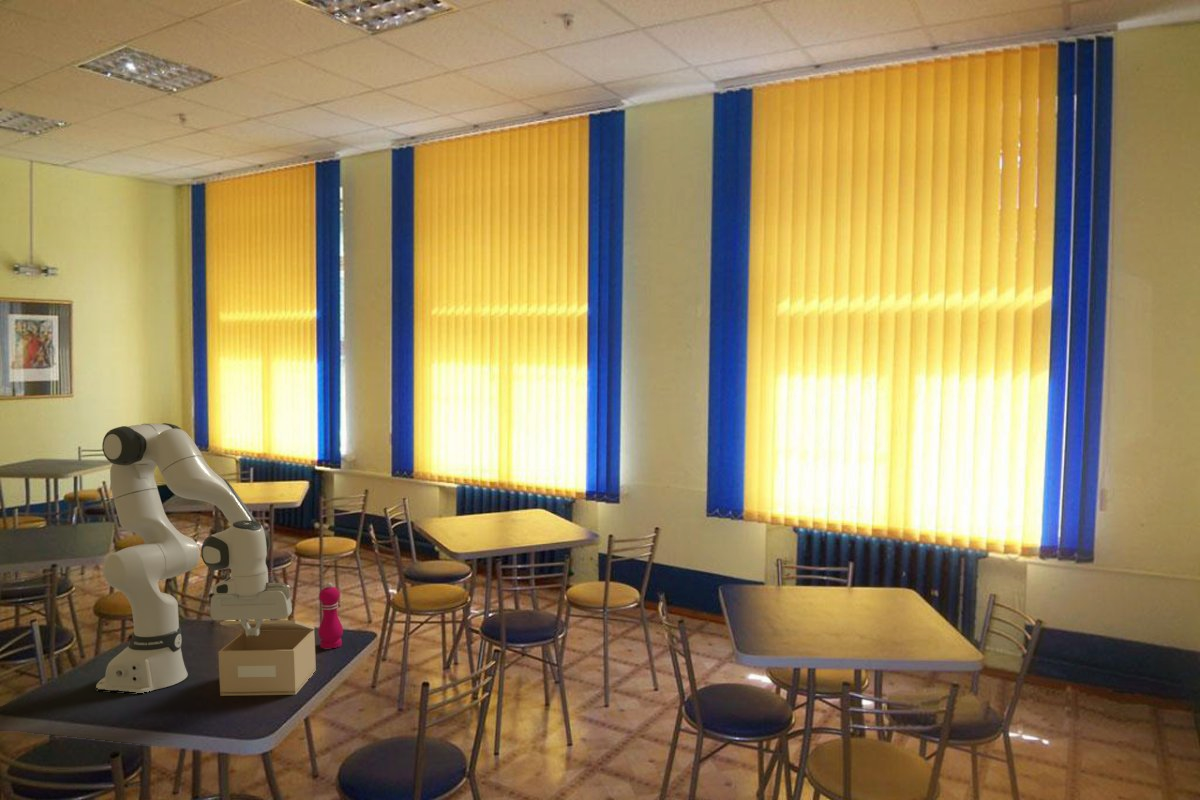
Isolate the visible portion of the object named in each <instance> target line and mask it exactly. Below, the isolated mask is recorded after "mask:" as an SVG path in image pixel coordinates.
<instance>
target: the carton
mask: <svg viewBox="0 0 1200 800" xmlns="http://www.w3.org/2000/svg"><path fill="white" fill-rule="evenodd" d="M259 632H260V633H259V635H258V636H246V631H244V630H242V632H240V634H238V635H237V636H235V637H234V638H233V639H232V640H231V641H230V642H228V643H227V644H226V645H225V646H223V647H222V648H221V649H219V651H218V654H217V655H218V673H219V693H220V695H219V696H221V697H224V696H225V697H226V696H227V697H228V696H280V695H281V696H283V695H284V696H287V695H289V696H291V695H292V696H295V695H297V693H299V691H300V690H301V689H302V688H303V686H304V685H306V684H307V682H308V681H309V680H310V679H311V678H312V676H313V675H314V674H315V673H316V672H317V665H316V663H317V662H316V640H315V637H316V636H315V629H314V630H259ZM315 671H316V672H315ZM314 672H315V673H314ZM313 673H314V674H313ZM309 678H310V679H309ZM308 679H309V680H308Z"/></svg>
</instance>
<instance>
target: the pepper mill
mask: <svg viewBox="0 0 1200 800" xmlns="http://www.w3.org/2000/svg"><path fill="white" fill-rule="evenodd" d="M340 596H341V595H340V591H339V589H338V588H336V587H335V586H333V584H332V582H330V581H329V582H327V583H326V584H325V587H324V588H323V589H321V590H320V593H319V595H318V597H319V598H318V599H319V602H321V603H320V604H321V607H320V608H321V609H322V619H321V622H320V625H319V628H318V638H320V640H321V641H320V648H321V647H322V648H336V647H339V646H340V647H342V645H343V644H342V643H343V641H342V640H343V639H342V638H341V637H342V636H343V634H344V629H343V625H342V622H341V621H340V618H339V615H338V607H339V602H338V600H339V599H340ZM340 647H339V648H340ZM322 648H321V649H322ZM336 649H337V648H336Z"/></svg>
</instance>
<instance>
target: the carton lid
mask: <svg viewBox="0 0 1200 800" xmlns="http://www.w3.org/2000/svg"><path fill="white" fill-rule="evenodd" d="M248 624H249V625H250V627H251V628H255V627H256V625H257V623H255V620H249V621H248ZM219 625H221V626H226V627H229V628H231V629H232V628H233V629H236V630H240V631H246V630H245V629H244V628H243V626H242V625H241V620H219ZM315 628H316V627H315V626H313V625H310V624H308V623H304V622H302V621H300V620H299V621H298V620H296V619H267V620H263V622H262V624H261V626H260V628H259V631H275V630H314V631H315Z"/></svg>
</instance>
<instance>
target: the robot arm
mask: <svg viewBox="0 0 1200 800" xmlns="http://www.w3.org/2000/svg"><path fill="white" fill-rule="evenodd" d="M101 448H102V452H103V455H104V457H105V458H106V459H107V461H108V462H110V463H112V464H111V466H110V468H109V469H110V470H109V473H110V474H109V475H110V476H109V478H110V487H111V488H110V489H111V494H112V498H113V503H114V506H115V510H116V514H117V518H118V522H119V525H120V526H121V528H122V529H124V530H125V531H127V532H131V533H134V534H135V535H138V536H139V537H140V539H142V541H143V543H142V544H137V545H133V546H132V545H131V546H128V547H125V548H122V549H120V550H117V551H115V552H113V553H111V554H109V555H108V556H107V557H106V559H105V561H104V563H103V566H102V575H103V577H104V578H103V579H105V582H107V584H108V585H109V586H111V588H113V589H116V590H117V591H119V592H121V593H122V594H123V595H124V596H125V597H126V599H127V601H128V602H129V605H130V607H131V612H132V621H133V632H132V633H130V634H129V635H128V636H126V637H125V638H124V644H125V643H127V642H128V645H127V647H125V648H124V649H123V650H122V651H120V652H119V653H118V654H117V655H116V656H114V658H112V659H111V660H110V661H109V662H108V664H107V665H106V669H105V676H104V677H103V678H101V679H100V680H99V681H98V682H97V683H96V686H95V689H96V688H98V689H105V690H119V691H129V692H136V693H135V694H137V693H143V694H145V693H144V692H147V693H149V691H150V692H152V691H154V690H156V691H157V690H159V689H164V688H167V687H172V686H174V685H176V684H179V683H180V682H182V681H184V680H186V678H187V677H188V676H189V674H188V670H187V668H186V665H185V661H184V658H183V653H182V640H183V639H182V627H181V626H180V623H179V617H180V616H179V603H178V600H177V599H176V598H175V597H174V595H171V594H169V593H166V592H162V591H161V590H160V587H159V582H160V581H163V580H167V579H172V578H175V577H178V576H182V575H183V574H185V573H188V572H189V571H191V570H193V569H195V568H196V567H197V566H198V564H199V562H200V557H201V558H202V562H203V564H204V565H205V566H206V567H208V568H209V569H211V570H214V571H216V570H217V571H221V570H225V569H230V570H231V572H230V573H231V575H230V577H229V578H225V579H223V580H221V581H219V582H218V583H216V584H214V585H213V586H212V588H211V589H212V594H213V595H211V600H210V607H209V609H210V611H209V614H210V618H211V619H212V620H213V621H241V625H242V626H243V628H244V629H245V630H246V636H258V635H259V633H260V632H259V631H260V630H259V628H260V626H261V624H262V622H263V621H264V620H286V619H287V618H289V616H290V615H291V614H292V612H293V606H292V601H291V587H290V586H289V585H288V584H286V583H285V582H269V573H268V572H269V571H268V566H267V556H268V552H269V550H270V547H271V538H270V535H269V533H268V531H267V530H266V529H265V528H264V526H263V525H262V524H261V523H260V522H259V521H257V520H256V518H255V517H254V515H253V514H252V513H251V512H250V510H249V509H248V507H247V506H246V505H245V502H243V500H242V498H241V497H240V496H239V494H238V493H237V492H236V491H235V489H234V487H233V486H232V485H231V484H230V483H229V482H228V481H227V480H226V479H225V478H223V477H221V476H220V475H219V474H217V473H216V472H215V471H214V470H213V469H212V468H211V467H210V466H209V464H208V463H207V461H206V460H205V458H204V456H203V454H202V452H201V451H200V449H199V447H198V446H197V445H196V443H195V441H194V440H193V439H192V438H191V436H190V435H189V434H188V433H187V432H186V431H185V430H184V429H182V428H181V427H179V426H178V425H176V424H172V423H165V422H164V423H151V422H150V423H141V424H136V425H130V426H127V425H125V426H123V425H122V426H118V427H114V428H112V429H110V430H108V431H107V432H106V433H105V435H104V436H103V440H102V446H101ZM157 467H158V470H159V473H160V475H161V476H162V479H163V481H164V483H165V484H166V486H167V488H168V489H169V491H171V493H173V494H174V495H175V496H177V497H180V498H183V499H185V500H186V499H187V500H195V501H201V502H206V503H209V504H212V505H214V506H215V507H216V508H218V509H219V510H220V511H221V513H222V514H223V516H224V517H225V518H226V520H227V521H228V523H229V524H230V526H229V527H228V528H226V529H224V530H222V531H220V532H215V533H214V534H211V535H209V536H207V537H206V538H205V539H204V540H203V542H202V545H201V548H199V545H198V543H197V542H196V541H195V540H194V539H193V538H191V537H189V536H187V535H185V534H184V533H182V532H180V531H179V530H178V529H177V528H176V527H175V526H174V525H173V523H172V522H171V521H170V520H169V518H168V516H167V514H166V512H165V509H164V506H163V503H162V500H161V496H160V492H159V489H158V485H157V482H156V479H155V469H156V468H157ZM200 549H201V550H200ZM248 621H255V623H257V625H256V627H255V628H251V627H250V625H249V624H248Z"/></svg>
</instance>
